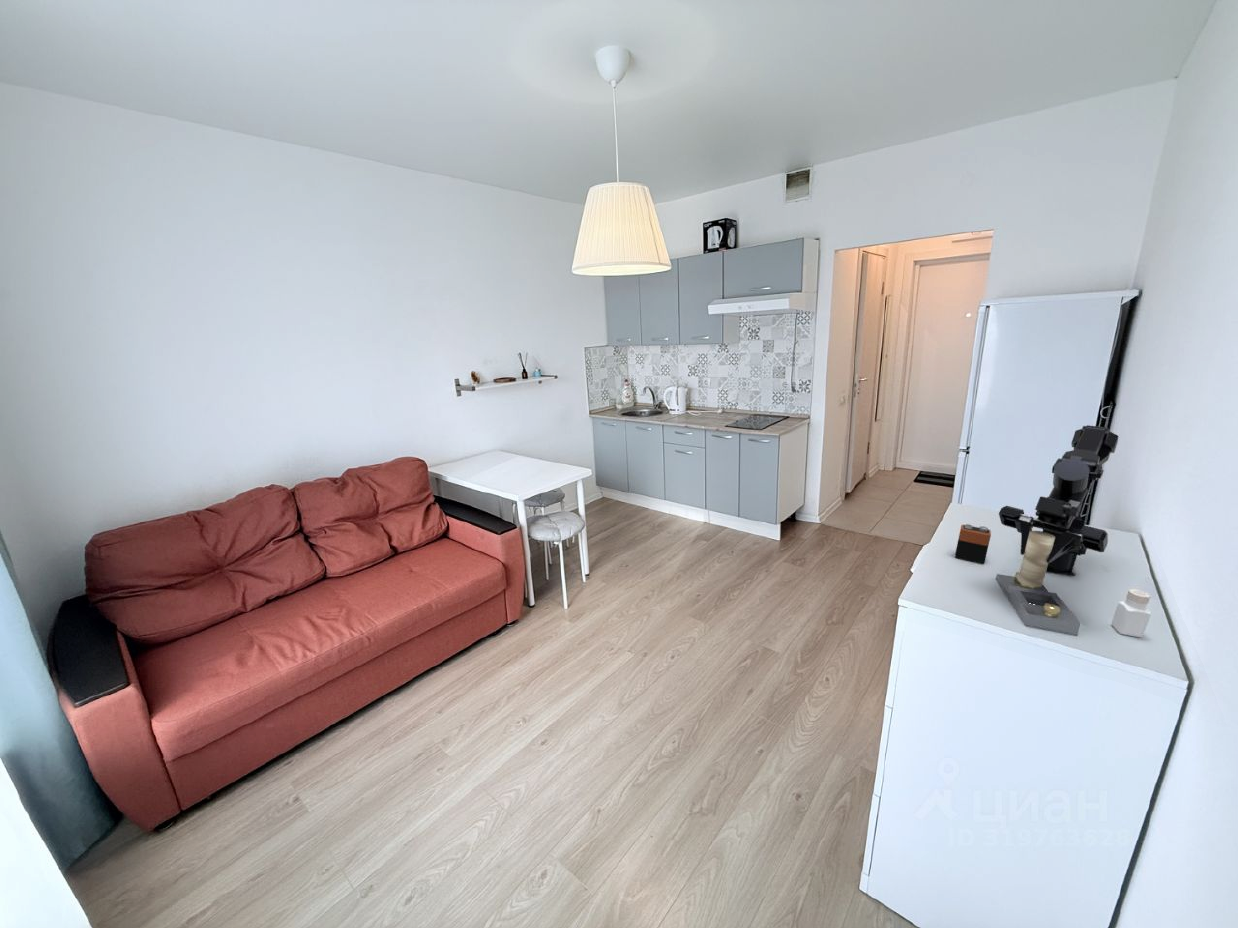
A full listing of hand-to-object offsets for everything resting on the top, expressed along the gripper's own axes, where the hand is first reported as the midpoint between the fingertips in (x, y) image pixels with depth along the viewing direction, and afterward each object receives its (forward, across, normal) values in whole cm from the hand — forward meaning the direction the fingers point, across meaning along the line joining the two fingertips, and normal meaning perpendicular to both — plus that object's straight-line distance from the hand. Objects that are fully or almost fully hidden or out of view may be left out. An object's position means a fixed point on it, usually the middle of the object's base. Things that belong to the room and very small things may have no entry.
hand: (1034, 558), depth 109 cm
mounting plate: (+6, +1, +13) cm, 14 cm away
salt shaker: (+4, +16, +16) cm, 23 cm away
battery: (-4, -18, +23) cm, 29 cm away
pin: (+4, 0, +6) cm, 7 cm away
